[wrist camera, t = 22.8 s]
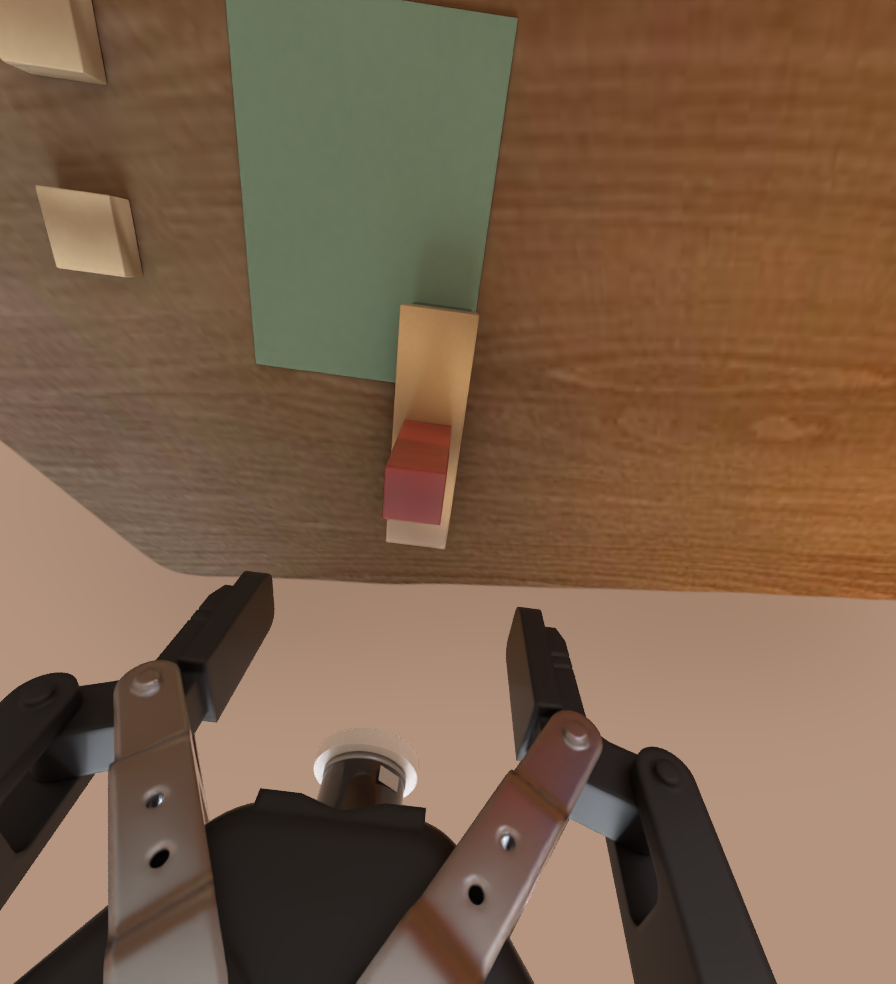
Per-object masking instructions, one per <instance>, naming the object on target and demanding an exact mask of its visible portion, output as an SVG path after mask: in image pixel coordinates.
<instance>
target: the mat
mask: <svg viewBox="0 0 896 984" xmlns="http://www.w3.org/2000/svg"><path fill="white" fill-rule="evenodd" d="M226 11H227V23H228V35H229V47H230V59H231V71H232V83H233V95H234V107H235V119H236V131H237V143H238V155H239V167H240V179H241V191H242V203H243V215H244V227H245V239H246V251H247V263H248V275H249V287H250V299H251V311H252V323H253V335H254V347H255V359H256V364H261V365H268V366H275V367H283V368H290V369H298V370H305V371H312V372H320V373H327V374H335V375H342V376H349V377H357V378H364V379H372V380H379V381H386V382H394V383H396V367H397V351H398V335H399V319H400V305H401V304H403V303H411V304H412V303H413V302H420V303H428V304H435V305H442V306H450V307H457V308H464V309H471V310H472V312H476V307H477V300H478V293H479V286H480V279H481V272H482V265H483V258H484V251H485V244H486V238H487V231H488V224H489V217H490V210H491V203H492V196H493V189H494V182H495V175H496V168H497V161H498V154H499V147H500V140H501V133H502V126H503V119H504V112H505V105H506V98H507V91H508V84H509V77H510V70H511V63H512V56H513V49H514V42H515V36H516V29H517V22H518V18H513V17H506V16H500V15H494V14H487V13H481V12H474V11H468V10H461V9H455V8H448V7H442V6H435V5H429V4H422V3H416V2H409V1H403V0H226Z"/></svg>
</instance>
